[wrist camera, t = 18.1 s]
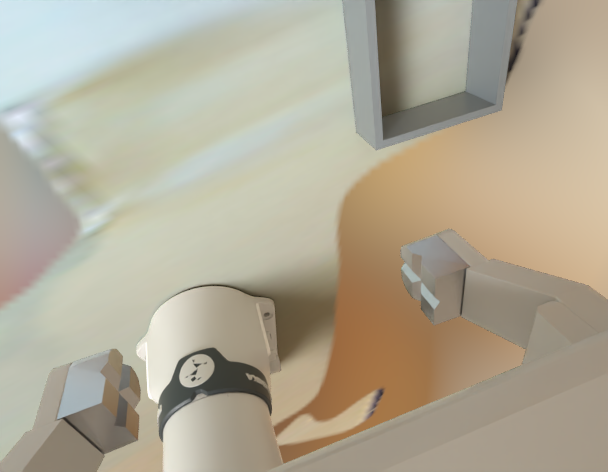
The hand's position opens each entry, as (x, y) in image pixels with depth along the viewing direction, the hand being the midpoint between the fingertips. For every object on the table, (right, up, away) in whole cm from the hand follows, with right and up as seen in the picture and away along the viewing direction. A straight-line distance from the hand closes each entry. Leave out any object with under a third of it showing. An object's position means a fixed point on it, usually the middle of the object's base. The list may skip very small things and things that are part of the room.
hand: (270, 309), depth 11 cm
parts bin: (+12, +21, +27) cm, 36 cm away
